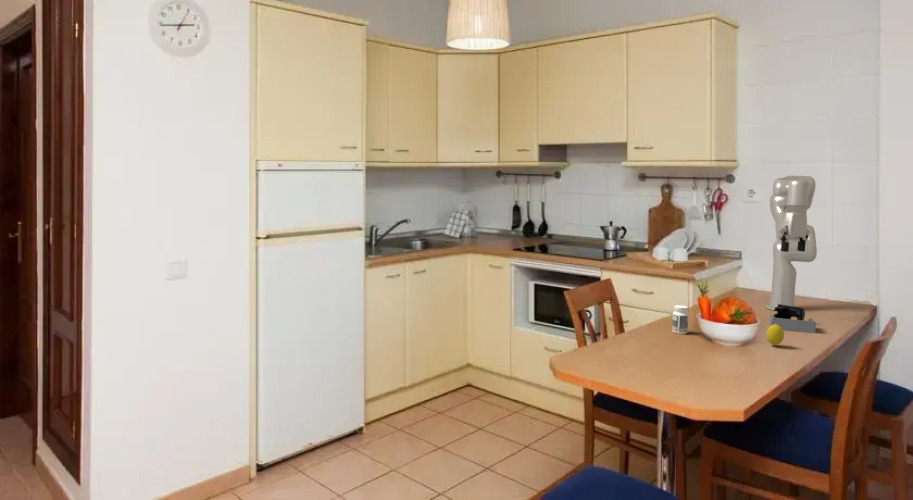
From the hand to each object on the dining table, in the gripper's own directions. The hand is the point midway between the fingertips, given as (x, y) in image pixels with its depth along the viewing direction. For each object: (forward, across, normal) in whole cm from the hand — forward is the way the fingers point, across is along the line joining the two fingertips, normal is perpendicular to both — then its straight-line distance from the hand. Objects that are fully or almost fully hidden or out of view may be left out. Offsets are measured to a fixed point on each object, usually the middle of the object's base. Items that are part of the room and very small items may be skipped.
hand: (792, 251), depth 283 cm
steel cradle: (+29, +13, +13) cm, 34 cm away
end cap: (+29, +4, +4) cm, 30 cm away
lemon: (+30, +44, +30) cm, 61 cm away
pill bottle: (+30, +62, +4) cm, 69 cm away
